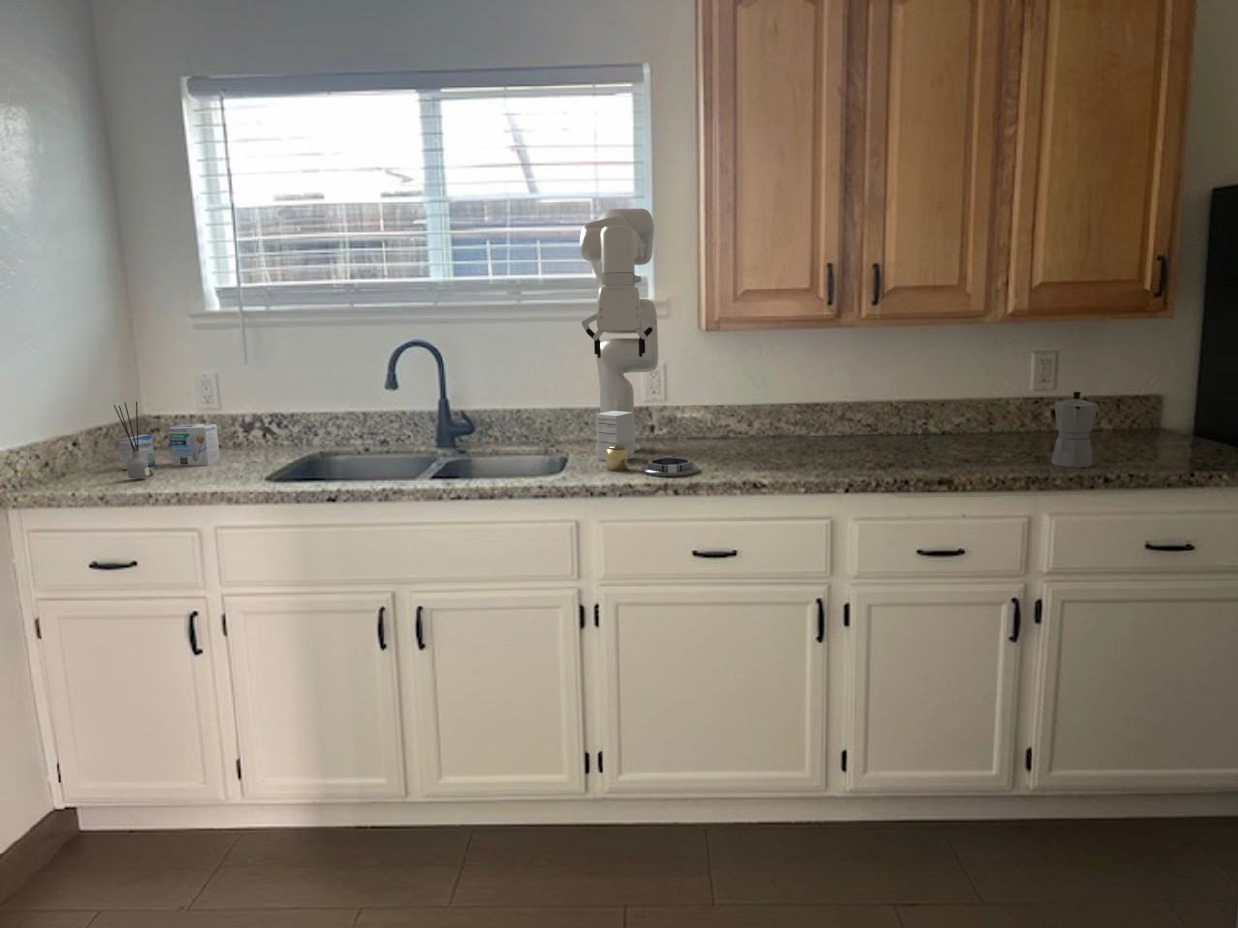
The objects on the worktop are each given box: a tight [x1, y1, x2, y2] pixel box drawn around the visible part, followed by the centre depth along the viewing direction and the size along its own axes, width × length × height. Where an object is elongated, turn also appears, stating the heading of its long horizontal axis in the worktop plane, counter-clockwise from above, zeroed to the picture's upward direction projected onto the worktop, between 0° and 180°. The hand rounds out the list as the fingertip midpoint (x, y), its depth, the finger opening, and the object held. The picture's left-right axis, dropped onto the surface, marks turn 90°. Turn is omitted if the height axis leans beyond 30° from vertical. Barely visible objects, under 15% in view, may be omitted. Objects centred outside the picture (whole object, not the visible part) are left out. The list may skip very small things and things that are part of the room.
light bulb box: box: [168, 423, 221, 467], centre depth 246 cm, size 11×7×11 cm, turn 87°
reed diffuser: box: [113, 401, 156, 479], centre depth 224 cm, size 10×7×20 cm
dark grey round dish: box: [641, 455, 699, 478], centre depth 219 cm, size 14×14×3 cm
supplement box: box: [595, 411, 635, 462], centre depth 237 cm, size 7×7×13 cm
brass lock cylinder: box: [606, 444, 628, 472], centre depth 223 cm, size 5×5×6 cm
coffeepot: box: [1050, 391, 1099, 469], centre depth 216 cm, size 15×9×18 cm, turn 157°
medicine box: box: [117, 434, 156, 469], centre depth 242 cm, size 8×4×9 cm, turn 170°
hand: (619, 357), depth 204 cm, fingers open, 9 cm apart
